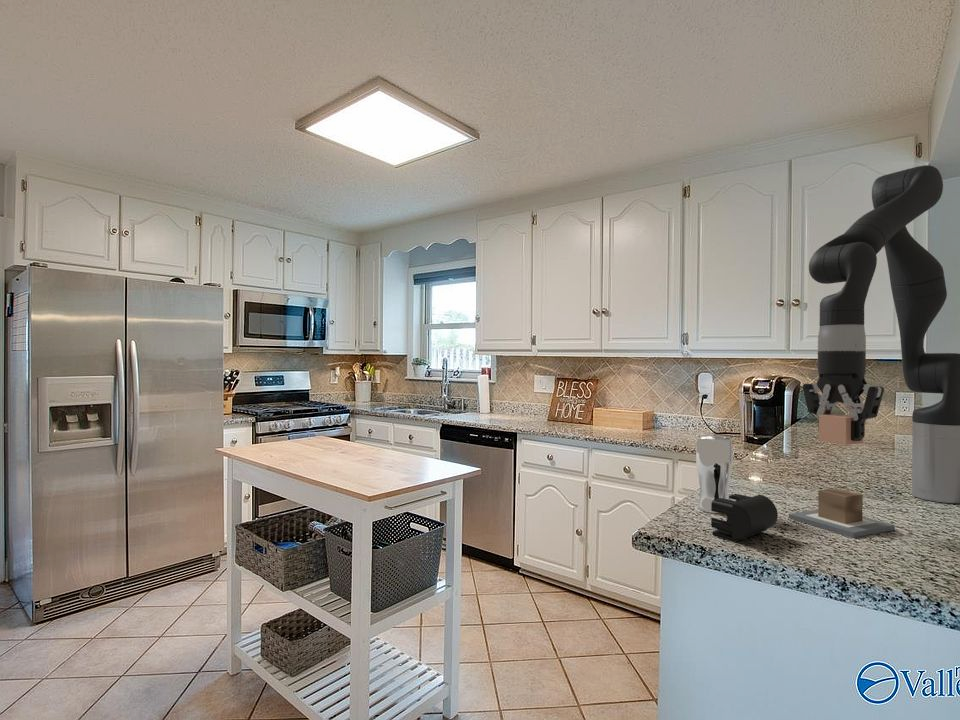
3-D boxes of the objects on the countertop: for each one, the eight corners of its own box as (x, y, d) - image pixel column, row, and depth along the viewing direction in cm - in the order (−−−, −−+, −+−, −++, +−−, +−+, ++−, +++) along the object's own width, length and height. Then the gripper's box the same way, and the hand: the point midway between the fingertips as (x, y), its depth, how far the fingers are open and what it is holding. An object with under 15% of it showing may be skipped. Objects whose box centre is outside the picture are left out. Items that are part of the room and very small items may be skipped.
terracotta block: (835, 439, 102) (835, 414, 102) (862, 443, 97) (863, 416, 97) (818, 440, 100) (818, 414, 100) (845, 444, 95) (845, 417, 95)
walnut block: (835, 513, 102) (835, 488, 102) (862, 521, 97) (862, 494, 97) (818, 516, 100) (818, 490, 100) (845, 524, 95) (845, 496, 95)
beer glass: (736, 515, 103) (737, 440, 103) (699, 513, 104) (700, 439, 105) (727, 506, 110) (727, 435, 110) (692, 504, 111) (693, 434, 111)
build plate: (828, 512, 106) (828, 507, 106) (894, 529, 95) (894, 524, 95) (788, 518, 101) (788, 513, 101) (853, 537, 90) (853, 532, 90)
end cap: (750, 547, 85) (750, 506, 85) (709, 535, 91) (709, 497, 91) (778, 536, 91) (778, 497, 91) (738, 525, 97) (738, 489, 97)
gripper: (895, 349, 93) (895, 443, 93) (817, 350, 107) (816, 433, 106) (869, 348, 90) (869, 445, 90) (792, 349, 104) (791, 434, 104)
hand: (840, 438), depth 98 cm, fingers closed on terracotta block, 5 cm apart
